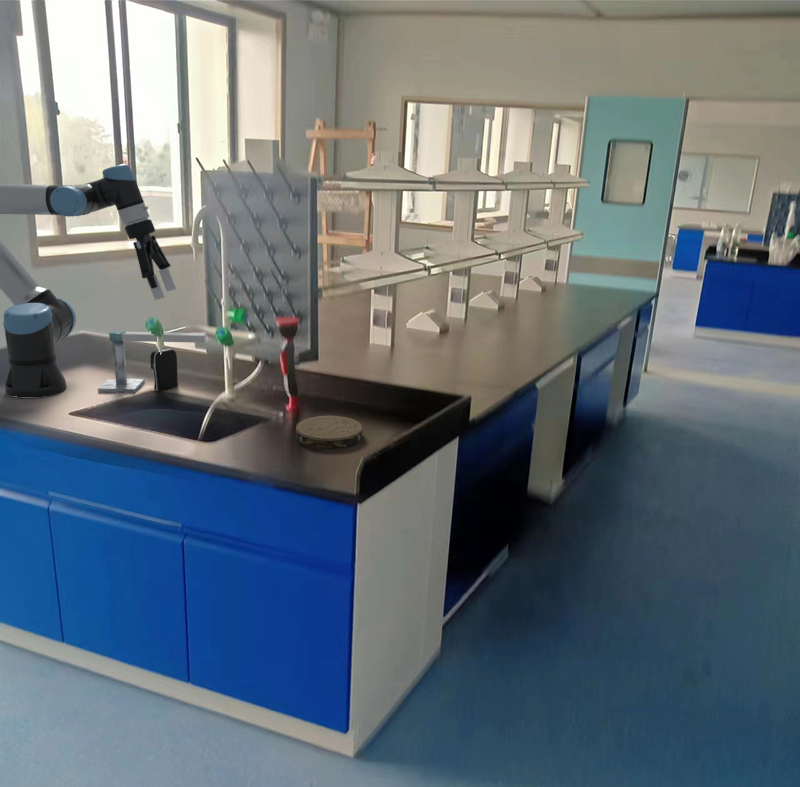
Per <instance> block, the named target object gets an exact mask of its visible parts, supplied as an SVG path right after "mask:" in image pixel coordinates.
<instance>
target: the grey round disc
mask: <svg viewBox="0 0 800 787" xmlns="http://www.w3.org/2000/svg"><path fill="white" fill-rule="evenodd" d="M362 437H363V425H362V424H361V422H359V421H358V420H356V419H353V418H350V417H347V416H342V415H341V416H339V415H319V416H318V415H317V416H312V417H307V418H304V419H301V421H299V422H298V423H297V424H296V426H295V438H296V441H297V442H298V443H299V444H301V445H303V446H306V447H308V448H312V449H318V450H341V449H345V448H346V449H347V448H350V447H352V446H355V445H358V444H359V443H360V442H361V441H362Z"/></svg>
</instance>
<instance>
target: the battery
mask: <svg viewBox="0 0 800 787" xmlns="http://www.w3.org/2000/svg"><path fill="white" fill-rule="evenodd" d="M162 349H163V350H162V354H161V355H160V352H159V350H160V349H156V350H153V351H152V352H151V353H150V360H149V362H150V369H151V370H153V376H154V385H153V386H154V387H153V389H154V390H155V391H156V392H163V391H167V390H170V389H174V388H177V387H179V381H178V380H179V379H178V357H177V356H178V355H177V352H176V351H175V350H174V349H172V348H162Z"/></svg>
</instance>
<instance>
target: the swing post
mask: <svg viewBox="0 0 800 787" xmlns="http://www.w3.org/2000/svg"><path fill="white" fill-rule="evenodd" d="M111 342H112V352H113V363H114V365H113V366H114V376H115V378H113V377H112V378H108V379H107V380H106V381H104V382H103V383H102V384H101V385H100V386H99V387H97V393H100V394H104V393H105V394H136V393H137V392H138V391H139V390H140V389H141V387H142V386H143V385H144V384H145V382H146V381H145V378H127V377H128V376H127V375H128V374H127V365H126V364H127V363H126V351H125V349H126V348H125V341H119V342H114V341H111Z"/></svg>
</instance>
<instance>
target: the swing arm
mask: <svg viewBox="0 0 800 787" xmlns="http://www.w3.org/2000/svg"><path fill="white" fill-rule="evenodd" d="M150 332H151V331H123V330H114V331H110V332H109V333H108V337H109V341H110V342H112V341H114V342H119V341H124V342H142V343H143V342H147V343H148V342H151V343H153V342H154V343H157V337H156V336H154V335H153V334H151V333H150ZM163 332H164V331H163ZM206 341H207V333H206V332H204V333H203V332H200V333H199V332H164V339H163V342H162V343H194V344H196V343H197V344H203V343H206Z"/></svg>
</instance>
